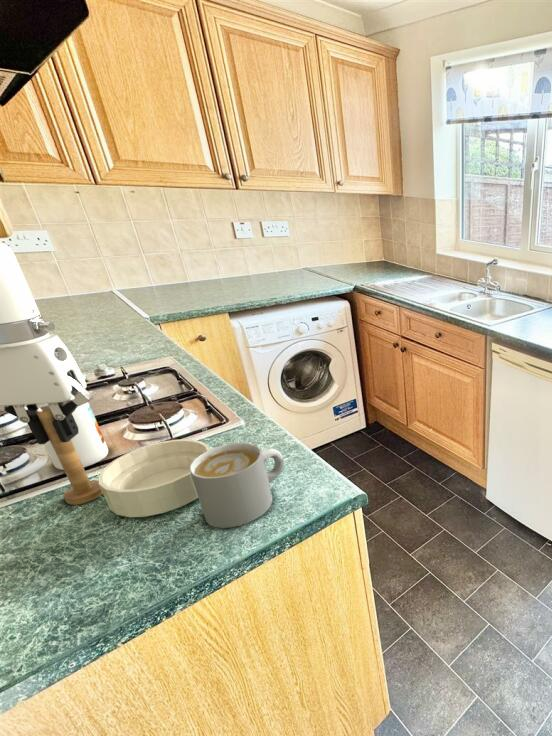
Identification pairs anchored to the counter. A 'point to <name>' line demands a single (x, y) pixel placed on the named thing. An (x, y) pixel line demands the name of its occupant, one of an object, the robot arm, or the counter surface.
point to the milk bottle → (83, 438)
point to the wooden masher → (69, 463)
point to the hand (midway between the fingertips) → (59, 437)
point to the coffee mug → (234, 483)
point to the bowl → (151, 478)
